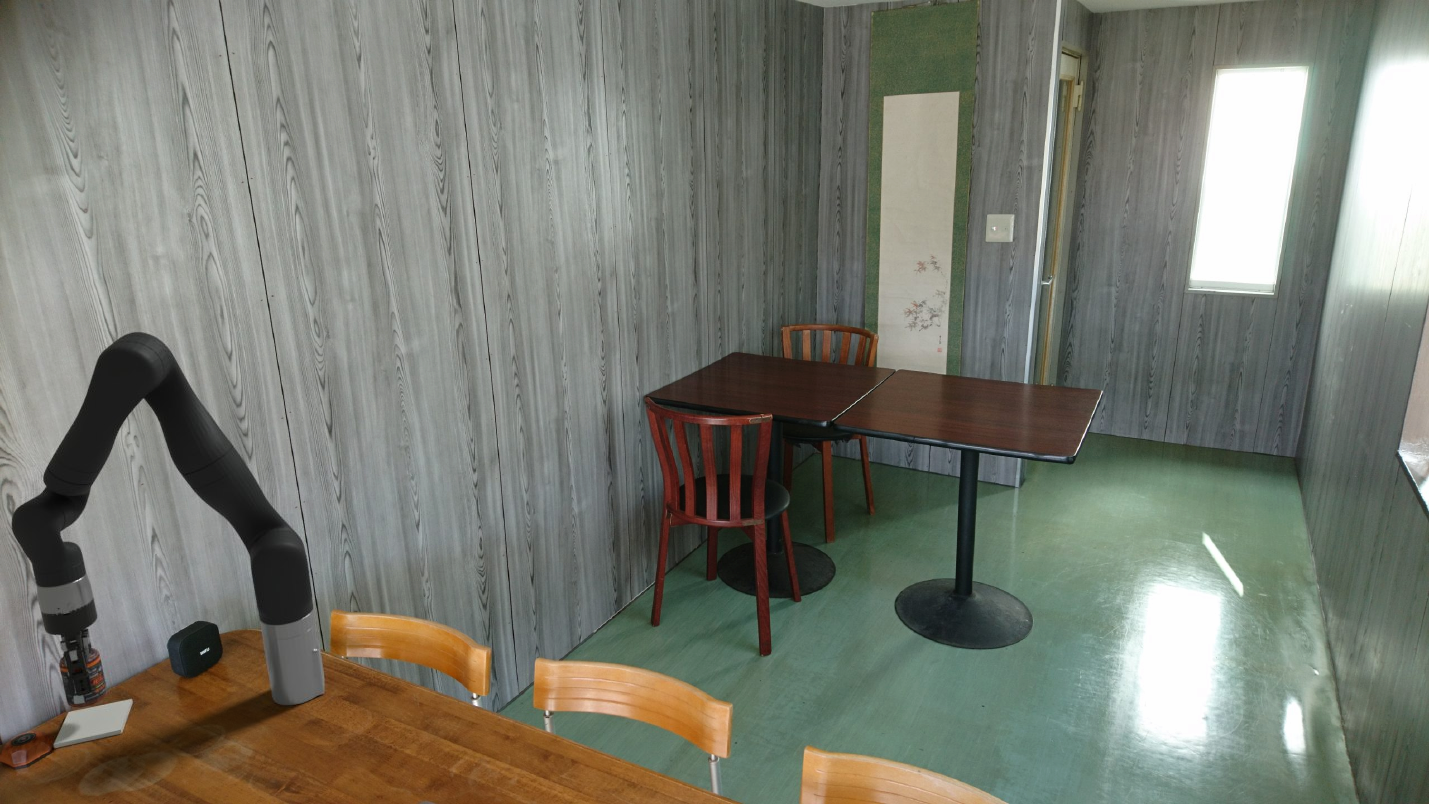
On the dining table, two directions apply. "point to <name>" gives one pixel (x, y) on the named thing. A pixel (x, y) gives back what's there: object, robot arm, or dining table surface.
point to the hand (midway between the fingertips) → (85, 684)
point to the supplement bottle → (95, 679)
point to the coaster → (93, 723)
